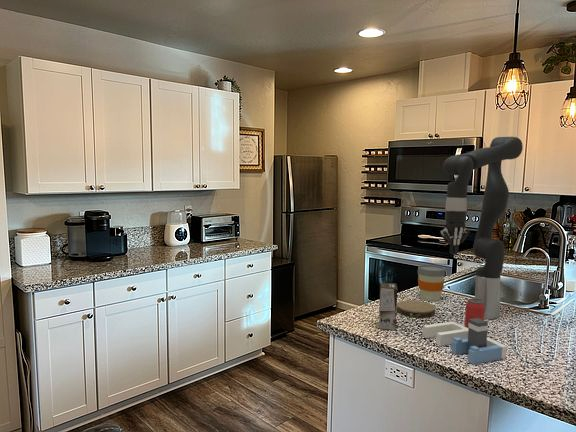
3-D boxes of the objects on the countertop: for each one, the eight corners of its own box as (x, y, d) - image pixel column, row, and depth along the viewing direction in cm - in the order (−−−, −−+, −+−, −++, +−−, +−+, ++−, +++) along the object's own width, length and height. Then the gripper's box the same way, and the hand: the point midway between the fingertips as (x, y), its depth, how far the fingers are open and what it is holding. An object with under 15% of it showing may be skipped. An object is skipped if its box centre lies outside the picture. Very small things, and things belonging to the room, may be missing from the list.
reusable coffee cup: (440, 304, 196) (441, 272, 194) (413, 299, 202) (414, 268, 201) (446, 297, 206) (448, 267, 204) (420, 293, 213) (421, 263, 211)
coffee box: (396, 330, 163) (397, 289, 161) (379, 329, 164) (380, 288, 162) (395, 322, 172) (396, 283, 170) (378, 320, 173) (380, 282, 171)
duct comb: (452, 331, 162) (453, 318, 162) (506, 358, 139) (507, 343, 139) (422, 336, 157) (423, 323, 157) (472, 364, 134) (473, 349, 134)
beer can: (482, 329, 165) (484, 299, 164) (484, 335, 159) (485, 304, 157) (463, 327, 167) (465, 297, 166) (464, 333, 161) (466, 302, 159)
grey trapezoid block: (476, 352, 144) (478, 317, 142) (486, 357, 140) (488, 321, 138) (466, 354, 142) (468, 319, 141) (476, 359, 138) (478, 323, 137)
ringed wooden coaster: (399, 304, 195) (400, 298, 195) (436, 309, 189) (436, 303, 188) (393, 315, 181) (393, 308, 180) (432, 321, 174) (433, 314, 174)
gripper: (462, 208, 167) (460, 251, 169) (435, 208, 163) (433, 253, 164) (477, 209, 160) (474, 255, 162) (449, 210, 156) (446, 257, 157)
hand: (453, 254), depth 163 cm, fingers closed
